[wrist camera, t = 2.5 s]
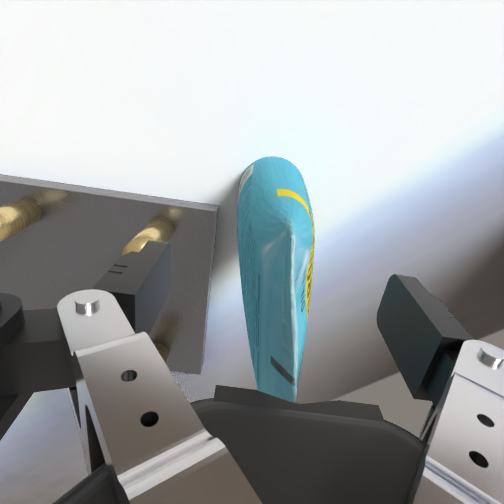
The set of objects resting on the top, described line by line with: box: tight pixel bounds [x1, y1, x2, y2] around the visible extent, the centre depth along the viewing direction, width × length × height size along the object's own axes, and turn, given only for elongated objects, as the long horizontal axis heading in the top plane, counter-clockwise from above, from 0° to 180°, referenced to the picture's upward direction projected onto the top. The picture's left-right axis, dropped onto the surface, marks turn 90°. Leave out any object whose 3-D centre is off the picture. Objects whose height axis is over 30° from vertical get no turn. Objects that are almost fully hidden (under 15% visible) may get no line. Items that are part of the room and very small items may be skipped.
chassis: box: [0, 174, 218, 374], centre depth 26 cm, size 18×16×6 cm
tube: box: [237, 157, 315, 403], centre depth 17 cm, size 7×5×19 cm, turn 6°
